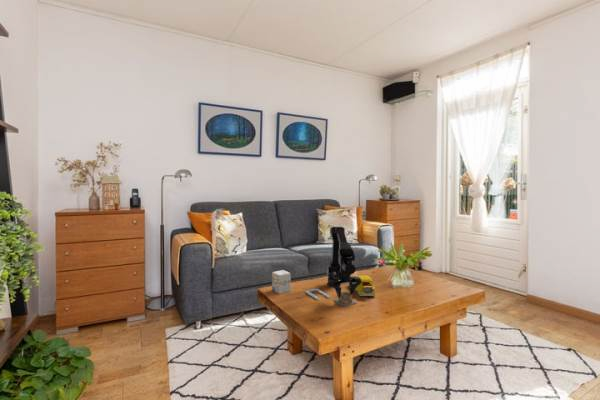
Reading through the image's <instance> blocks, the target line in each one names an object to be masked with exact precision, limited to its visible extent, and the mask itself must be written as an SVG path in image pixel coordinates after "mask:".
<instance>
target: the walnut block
mask: <svg viewBox="0 0 600 400" xmlns="http://www.w3.org/2000/svg"><path fill="white" fill-rule="evenodd" d="M338 299H339V301H341V302H343V303H344V304H348V303H352V300H353V294H350V292H348V291H346V290H345V291H341V295H340V298H338Z"/></svg>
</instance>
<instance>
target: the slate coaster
mask: <svg viewBox="0 0 600 400" xmlns="http://www.w3.org/2000/svg"><path fill="white" fill-rule="evenodd" d="M333 302H335V303H336V304H338V305H340V306H341V307H348V306H351V305H356V304H357V302H356V301H355V300H353V299H352V303H348V304H344V303H343V302H341V301H339V298H337V299H333Z"/></svg>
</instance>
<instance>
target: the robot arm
mask: <svg viewBox="0 0 600 400" xmlns="http://www.w3.org/2000/svg"><path fill="white" fill-rule="evenodd" d="M345 230H346V229H345V227H343V226H331V227H330V228H329V234H330V236H331V239H332V247H331V260H330V261H329V262H328V266H327V269H326V275H327V276H328V277H327V282H326V284H327V285H328V286H329V287H331V288H333V289H334V290H335V293H336V297H337V299H339V298H340V295H341V292H342V287H341V285H346V284H349V293H350V294H352V295H353V294H354V292H356V290H355V289H356V287H357V286H358V285H359V284H361V279H360V278H359V277H357V276H356V275H354V274H355V272H356V271H357V269H356V266H355V265H354V264H353V262H355V259H356V255H355V251H354V249H353V248H352V246H351V244H350V243H348V240H347V237H346V231H345ZM339 261H340V262H339ZM351 275H354V276H351Z"/></svg>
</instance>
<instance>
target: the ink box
mask: <svg viewBox="0 0 600 400" xmlns="http://www.w3.org/2000/svg"><path fill="white" fill-rule="evenodd" d="M291 274H292V273H291V272H288V271H286V270H285V269H282V270H276V271H272V273H271V284H272V285H271V291H272V292H274V293H277V294H279V295H282V294H285V293H289V292H291V285H292V284H291V278H292V276H291Z"/></svg>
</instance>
